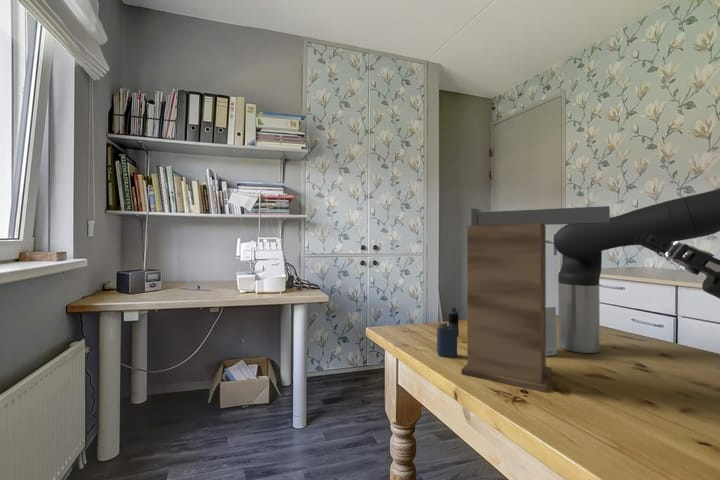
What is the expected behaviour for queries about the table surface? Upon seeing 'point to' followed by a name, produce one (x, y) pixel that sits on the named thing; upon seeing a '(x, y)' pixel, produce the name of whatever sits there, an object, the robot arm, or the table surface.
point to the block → (543, 216)
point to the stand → (507, 304)
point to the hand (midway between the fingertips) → (639, 236)
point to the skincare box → (551, 331)
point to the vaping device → (448, 336)
